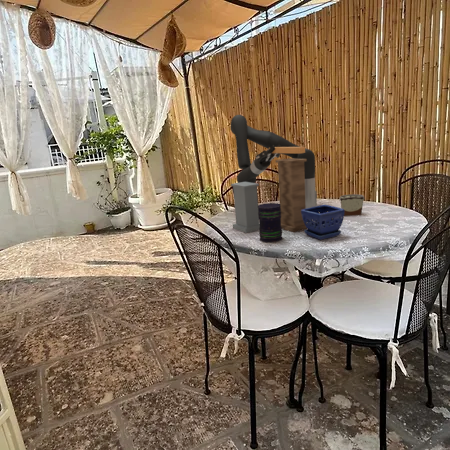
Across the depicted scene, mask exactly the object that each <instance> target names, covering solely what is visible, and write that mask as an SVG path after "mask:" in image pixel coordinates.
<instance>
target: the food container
mask: <svg viewBox="0 0 450 450" xmlns="http://www.w3.org/2000/svg"><path fill="white" fill-rule="evenodd" d="M364 200H365V195H363V194H356V193H352V194H343V195H340V196H339V199H338V201H339V202H340V208H342V209H344V217H354V216H356V217H357V216H358V217H359V216H362V215H363V207H364Z"/></svg>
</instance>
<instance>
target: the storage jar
mask: <svg viewBox="0 0 450 450" xmlns="http://www.w3.org/2000/svg"><path fill="white" fill-rule="evenodd" d="M280 207H281V205H280V203H277V202H269V203H268V202H266V203H261V204H258V218H259V224H260V227H259V230H258V232H259V241H260V242H263V243H276V242H280V241H282V240H283V229H282V226H281V208H280Z"/></svg>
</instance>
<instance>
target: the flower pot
mask: <svg viewBox="0 0 450 450" xmlns="http://www.w3.org/2000/svg"><path fill="white" fill-rule="evenodd" d="M301 214H302V218H303V221H304V224H305V226H306V228H307V229H304V230H303V231H304V234H306V235H307V236H310V237H311V238H315V239H317V240H320V241H321V240H325V239H330V238H333V237H337V236H339V235H340V234H342V230H340V228H341V226H342V224H343V221H344V219H345V216H344V209H342V208H341V207H338V206H333V205H328V204H321V205H317V206H315V207H311V208H306V209H303V210H301Z"/></svg>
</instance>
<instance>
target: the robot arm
mask: <svg viewBox="0 0 450 450" xmlns="http://www.w3.org/2000/svg"><path fill="white" fill-rule="evenodd" d="M230 132H231V133H232V134H233V135H234V136H235V143H236V144H235V145H236V157H237V165H238V168H239V169H241V171H239V172H238V174H237V176H236V183H240V182H250V183H256V181H257V177H259V176H260V174H262V173H263V172H265V171H266V169H267V168H269V166H270V165H271V163H272V161H273V160H274V159H275V158H277V159H278V158H280V156H281V155H285V156H287V157H288V158H289V157H290V158H294V159H307V161H305V162H304V172H305V206H306V208H311V207H315V206H318V205H317V204H318V200H317V199H318V198H317V197H318V196H317V190H316V155H315V153H314V152H313V151H312V150H311V149H309V148H306V147H305V153H272V152H273V151H274V150H275V147H301V146H300V145H297V144H294V143H293V142H291V141H289V140H288V139H286V138H284V137H283V136H281V135H279V134H277V133H274V132H273V131H269V130H261V129H256V128H254V127H251V126H250V125H248V120H247V118H246V116H244V115H242V114H236V115H234V116H233V117H232V118H231V121H230ZM248 141H251V142H252V143H255V144H257V145H260V146H261V147H263V148H265V149H266V150H263V151H261V152H260V153H258V154H257V155H255V158H254V159H253V160H252V162H251V155H250V150H249V149H250V148H249V145H248V144H249V143H248ZM269 148H270V149H269Z"/></svg>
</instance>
